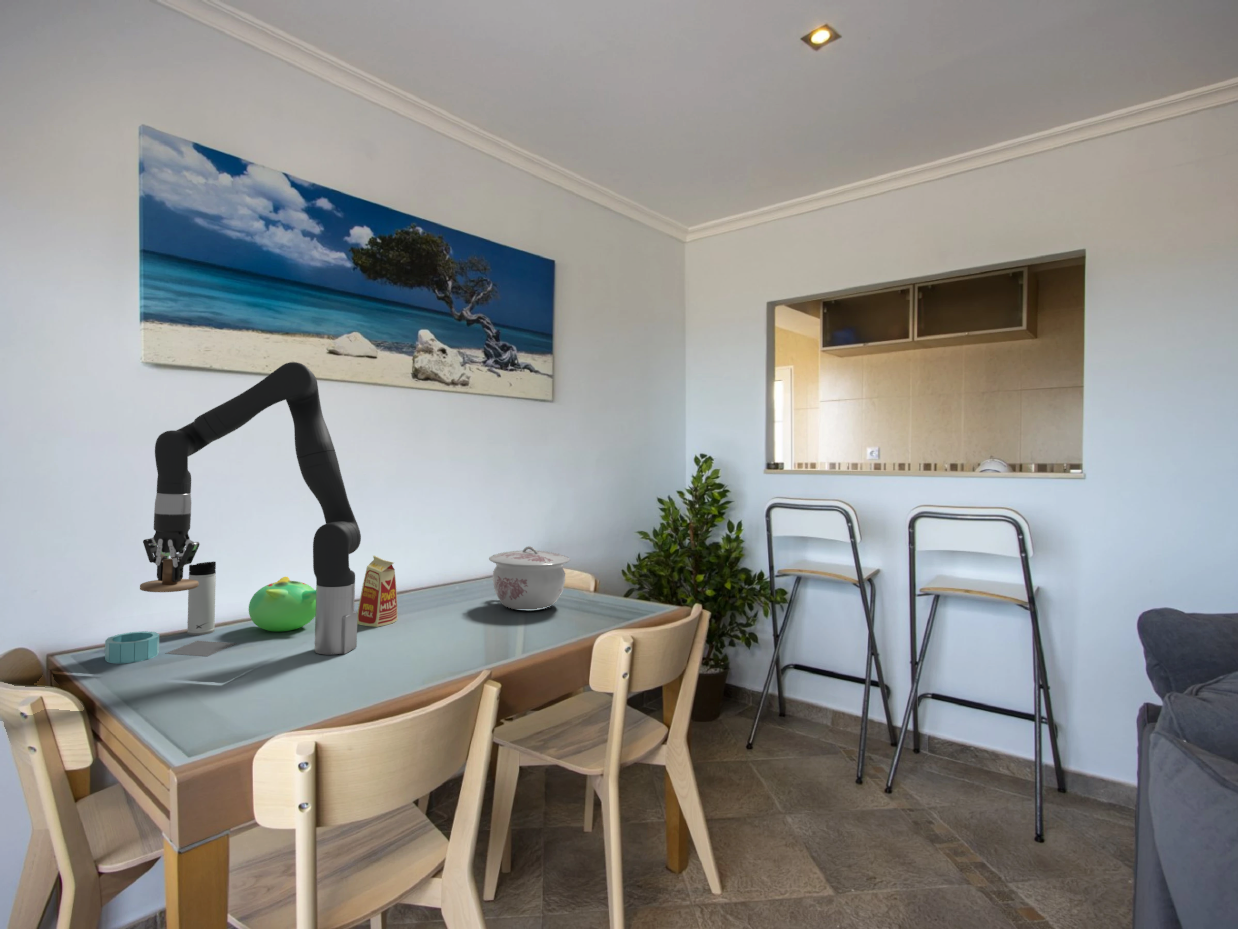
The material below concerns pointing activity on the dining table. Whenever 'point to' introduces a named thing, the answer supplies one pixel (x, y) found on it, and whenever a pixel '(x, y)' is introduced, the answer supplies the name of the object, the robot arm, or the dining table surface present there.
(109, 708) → the dining table surface
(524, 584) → the chamber pot
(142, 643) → the bowl
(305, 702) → the dining table surface
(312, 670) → the dining table surface
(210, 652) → the mat
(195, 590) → the travel mug
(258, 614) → the toy bird
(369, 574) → the milk carton
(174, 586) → the lid
